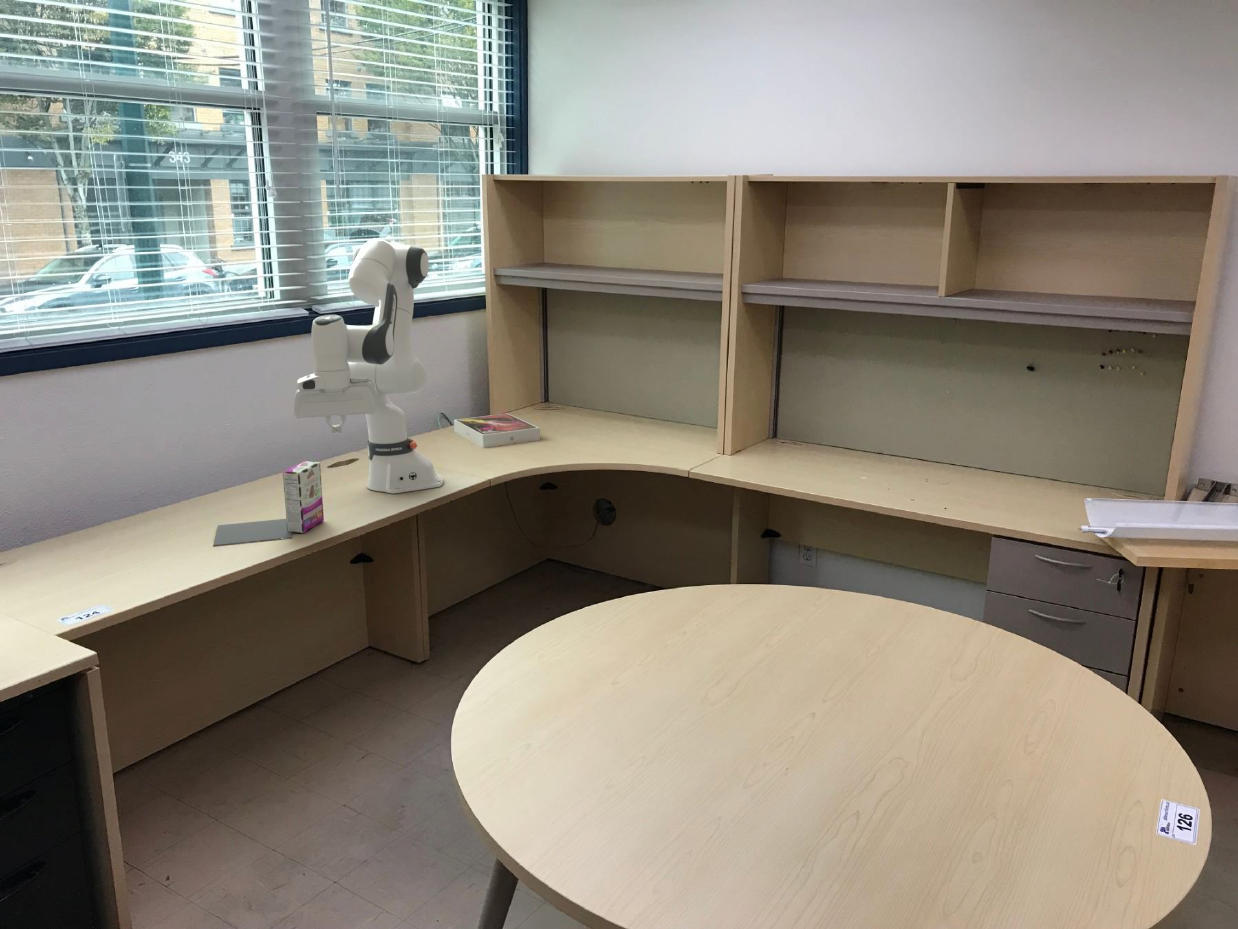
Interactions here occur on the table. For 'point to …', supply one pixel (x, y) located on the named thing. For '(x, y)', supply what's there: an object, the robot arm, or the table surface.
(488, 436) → the product packaging
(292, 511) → the candy bar box
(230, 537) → the mat
